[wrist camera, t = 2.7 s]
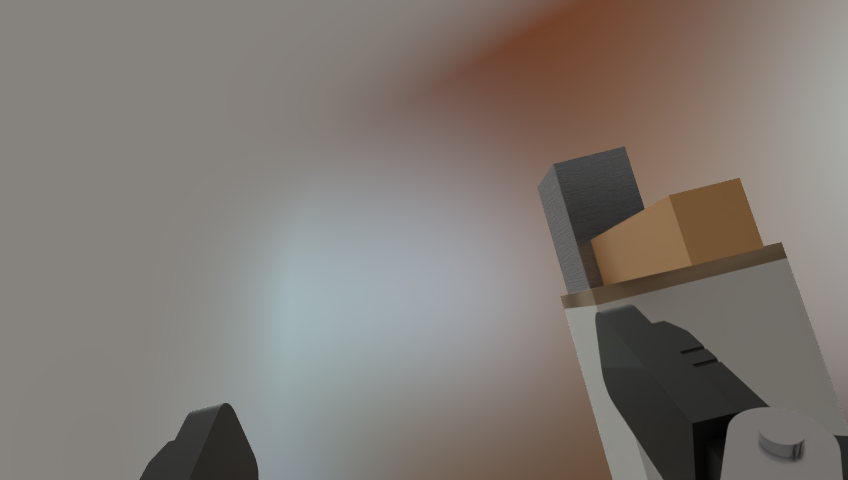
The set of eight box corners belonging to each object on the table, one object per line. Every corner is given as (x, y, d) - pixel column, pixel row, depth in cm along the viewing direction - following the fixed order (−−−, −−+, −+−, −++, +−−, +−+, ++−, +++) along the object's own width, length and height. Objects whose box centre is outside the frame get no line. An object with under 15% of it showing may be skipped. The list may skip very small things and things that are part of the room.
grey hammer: (786, 242, 18) (717, 54, 19) (670, 270, 18) (609, 81, 19) (631, 278, 33) (598, 172, 34) (568, 294, 33) (537, 187, 34)
